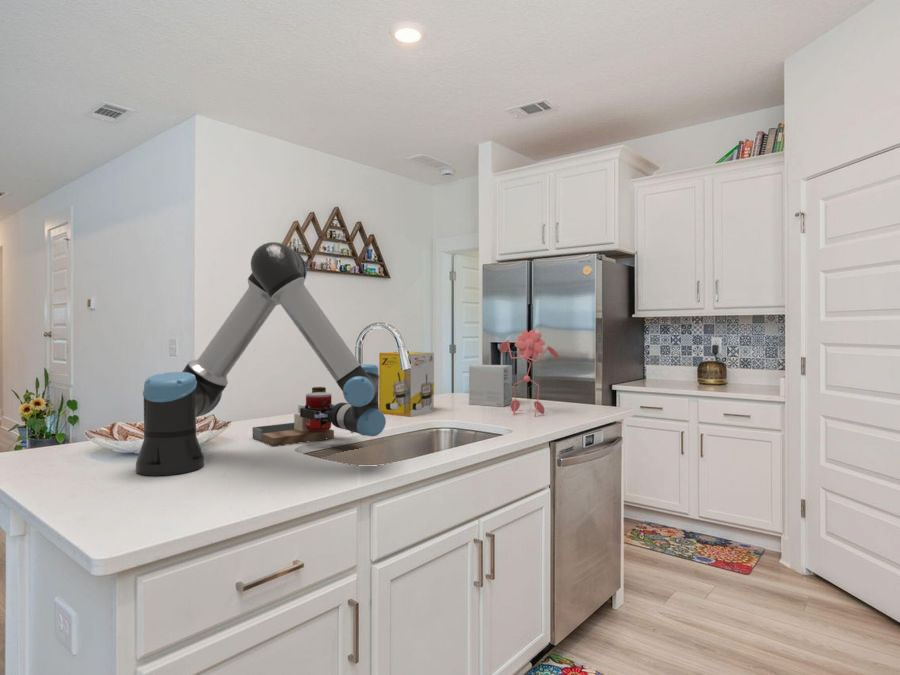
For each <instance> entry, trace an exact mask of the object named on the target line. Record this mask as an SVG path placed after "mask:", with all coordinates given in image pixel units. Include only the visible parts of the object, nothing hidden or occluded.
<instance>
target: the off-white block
mask: <svg viewBox="0 0 900 675" xmlns="http://www.w3.org/2000/svg"><path fill="white" fill-rule="evenodd" d="M293 414H294V415H293V418H294V420H293V423H294V429H295V430H300V431H306V430H308V429H307V428H306V418H304V417H300V414H299V413H298V412H296V413H293Z"/></svg>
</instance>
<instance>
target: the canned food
mask: <svg viewBox="0 0 900 675" xmlns="http://www.w3.org/2000/svg"><path fill="white" fill-rule="evenodd" d="M331 404H332V393H331V392H326V393H324V392H316V393H312V392H308V393H306V394H305V405H308V407H310V408H317V409H322V408H331ZM326 411H327V410H326ZM306 428H307V429H308V430H314V431H320V430H328V429H332V422H331V421H329V420H323V419H322V418H320V420H319V421H317V420H314V419H309V418H306Z"/></svg>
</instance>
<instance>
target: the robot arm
mask: <svg viewBox="0 0 900 675" xmlns="http://www.w3.org/2000/svg"><path fill="white" fill-rule="evenodd" d="M250 269H251V273H250V275H249V276H248V278H247V284H248V287H247V290H246V291H245V293H243V295H242V296H241V298H240V299H239V301H238V302H237V304H236V305H235V306H234V308H233V309H232V311H231V312H230V313H229V315H228V316H227V318H226V319H225V320H224V322H223V323H222V325H221V326H220V327H219V329H218V330H217V331H216V333H215V335H214V336H213V337H212V339H211V340H210V341H209V343H208V344H207V346H206V347H205V349H204V350H203V351H202V353H201V354H200V356H199V358H197V359H193V360H189V361H188V363H187V364H186V365H185V367H184V369H182V371H171V372H164V373H158V374H154V375H151V376H149V377H147V378H146V379H145V381H144V383H143V385H144V386H143V391H142V395H143V396H142V397H143V441H142V444H141V448H140V450H139V453H138V456H137V459H136V462H135V472H136V474H139V475H142V476H143V475H144V476H153V477H154V476H172V475H179V474H185V473H190V472H194V471H197V470H199V469H202V468H203V467H204V464H205V462H204V460H205V457H204V453H203V450H202V448H201V445H200V442H199V439H198V438H197V418H198V417H202V416H204V415H205V416H206V415H207V414H208V413H210V412H211V411H213V410H214V409H215V408H216V407H217V406H218V405H219V403H220V401H221V400H222V395H223V391H224V390H225V388H226V387H227V386H228V385H229V382H228V378H227V377H228V374H229V373H230V372H231V370H232V369H233V368H234V366H235V364H236V363H237V362H238V360H239V359H240V358H241V356H242V355H243V353H245V350H246V349H247V348H248V346H249V344H250V343H251V342H252V341H253V339H254V338H255V336H256V334H257V333H259V331H260V329H261V327H262V326H263V325H264V324H265V322H266V320H267V319H268V318H269V317H270V315H271V313H273V311H274V309H275V308H276V306H278V305H280V306H281V307H282V308H283V310H284V311H285V312H286V314H287V315H288V317H289V318H290V320H291V321H292V322H293V324H294V326H295V327H296V328H297V330H299V332H300V334H301V335H302V336H303V337H304V339H305V341H306V342H307V343H308V345H309V346H310V347H311V349H312V350H313V352H314V353H315V354H316V356H317V357H318V358H319V360H320V361H321V363H322V365H323V366H324V367H325V368H326V370H327V371H328V372H329V374H330V375H331V377H332V378H333V380H335V383H336V384H337V385H338V387H339V389H341V391H342V394H343V398H344V400H345V401H346V402H339V403H336V404H335V403H331V408H322V409H317V408H310V407H308V405H306V404H305V405H304V404H298V405H297V406H298V407H297V411H298V412H297V413H299V414H300V417H304V418H309V419H314V420H317V421H319V420H320V418H322V419H323V420H329V421H331V425H333V426H334V427H336V428H339V429H342V430H345V431H349V432H350V434H354V433H356V434H359V435H361V436H363V437H365V436H366V437H376V436H379V435H380V434H381V433H382V432H383V430H384V429H385V427H386V422H387V420H386V417H385V414H383V413H382V412H381V411H380V410H379V366H377V365H376V364H371V363H370V364H367V363H365V364H363V363H362V364H360V362H359V361H358V359H357V358H356V356H355V355H354V353H353V352H352V351H351V349H350V348H349V346H348V345H347V344H346V342H345V341H344V339H343V338H342V336H341V335H340V334H339V332H338V331H337V329H336V328H335V327H334V325H333V324H332V323H331V322H332V321H330V320H329V318H328V316H327V315H326V314H325V312H324V311H323V309H322V308H321V307H320V305H319V304H318V303H317V301H316V300H315V298H314V297H313V296H312V294H311V293H310V291H309V290H308V288H307V287H306V286H305V280H306V279H307V274H308V273H307V272H308V271H307V270H308V269H307V264H306V261H305V260H304V258H303V257H302V256H301V254H299V253H298V252H297V251H296V250H295V249H293V248H290V247H289V246H287V245H285V244H283V243H281V242H275V241H273V242H272V241H271V242H267V243H263V244H262V245H260V246H258V247H257V248H256V249H255V251H253V254H252V256H251V259H250ZM326 410H327V411H326Z"/></svg>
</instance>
